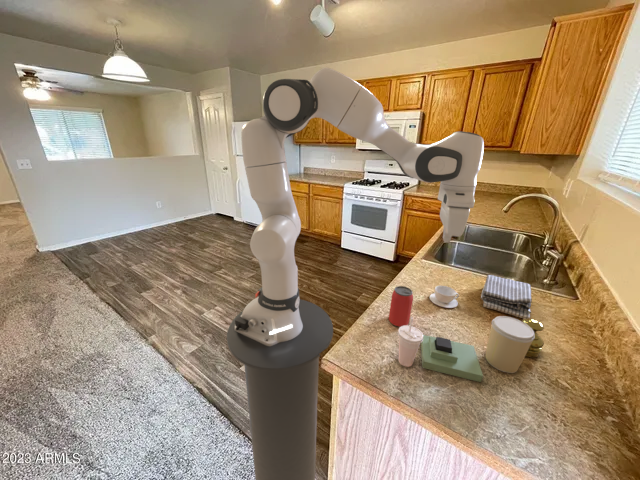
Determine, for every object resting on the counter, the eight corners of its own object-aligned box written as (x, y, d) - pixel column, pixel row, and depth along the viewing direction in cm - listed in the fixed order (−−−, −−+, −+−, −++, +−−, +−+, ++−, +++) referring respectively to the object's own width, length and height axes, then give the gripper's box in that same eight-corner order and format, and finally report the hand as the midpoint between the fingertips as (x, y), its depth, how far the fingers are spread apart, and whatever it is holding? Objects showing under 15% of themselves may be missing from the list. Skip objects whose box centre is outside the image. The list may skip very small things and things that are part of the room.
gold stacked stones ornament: (541, 349, 78) (552, 321, 75) (536, 362, 73) (548, 333, 70) (511, 336, 83) (521, 309, 79) (505, 348, 78) (515, 320, 75)
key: (436, 350, 72) (437, 345, 71) (435, 341, 75) (436, 336, 74) (450, 353, 71) (452, 348, 70) (449, 344, 74) (450, 339, 73)
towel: (526, 298, 104) (532, 280, 101) (529, 322, 90) (536, 303, 87) (482, 286, 112) (487, 269, 109) (478, 306, 98) (483, 288, 95)
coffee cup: (511, 352, 77) (524, 318, 72) (528, 378, 68) (544, 341, 64) (477, 346, 78) (487, 313, 74) (489, 372, 70) (501, 335, 65)
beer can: (406, 330, 84) (411, 298, 80) (385, 323, 87) (390, 292, 83) (410, 319, 90) (416, 288, 85) (391, 313, 93) (395, 283, 88)
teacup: (433, 307, 96) (435, 296, 95) (426, 293, 106) (428, 282, 104) (461, 310, 95) (464, 299, 94) (452, 295, 105) (454, 284, 103)
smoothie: (409, 351, 76) (417, 310, 71) (422, 368, 70) (431, 325, 65) (389, 354, 75) (395, 312, 70) (400, 372, 69) (408, 328, 64)
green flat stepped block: (422, 367, 70) (424, 356, 69) (420, 340, 80) (422, 329, 79) (481, 382, 67) (485, 370, 65) (471, 351, 76) (475, 340, 75)
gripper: (439, 188, 84) (432, 229, 89) (448, 200, 66) (437, 251, 70) (461, 189, 82) (452, 231, 87) (476, 203, 64) (464, 255, 69)
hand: (446, 240), depth 79 cm, fingers closed
